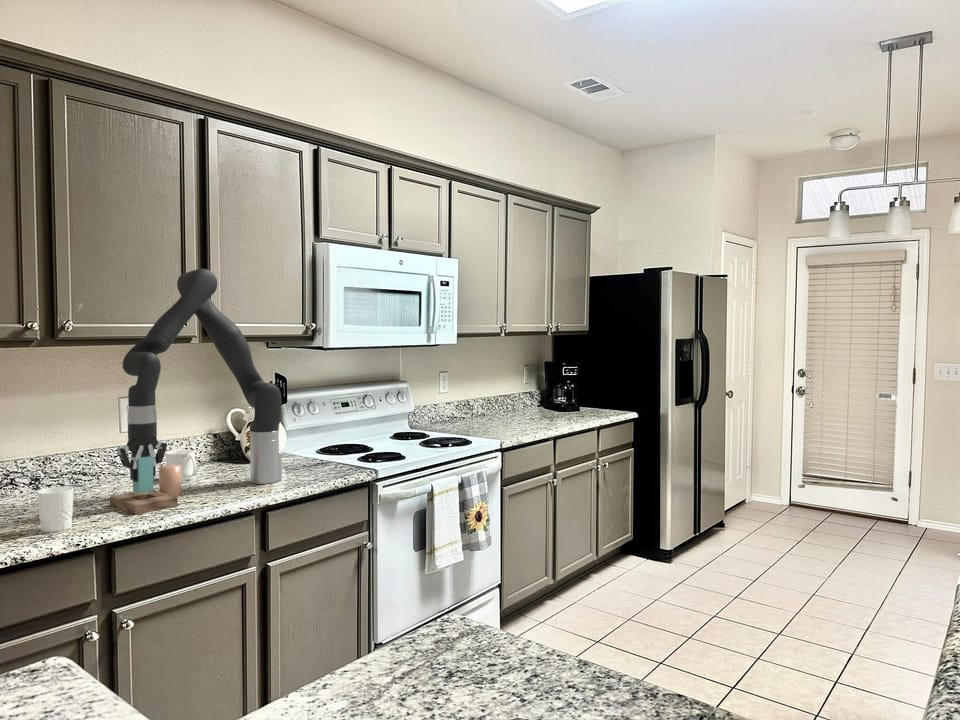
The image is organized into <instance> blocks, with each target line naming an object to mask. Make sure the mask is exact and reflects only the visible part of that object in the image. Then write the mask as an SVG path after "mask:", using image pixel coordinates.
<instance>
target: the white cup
mask: <svg viewBox="0 0 960 720" xmlns="http://www.w3.org/2000/svg"><path fill="white" fill-rule="evenodd" d="M36 493H37V506H38V516H39V521H40V531H41V532H43V533H55V532H62V531H66V530H70V529H71V528H72V526H73V512H74V487H72V486H55V487H54V486H53V487H47V488H42V489H39V490H37V492H36Z"/></svg>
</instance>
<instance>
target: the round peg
mask: <svg viewBox="0 0 960 720" xmlns="http://www.w3.org/2000/svg"><path fill="white" fill-rule="evenodd" d="M158 481H159V482H158V483H159V484H158V485H159V487H158V488H159V491H158V492H161V493H165V494H168V495H171V496H174V497H180V496H182V494H183V493H182V481H181V465H166V464H165V465H161V466H159V467H158Z"/></svg>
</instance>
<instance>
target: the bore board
mask: <svg viewBox="0 0 960 720" xmlns="http://www.w3.org/2000/svg"><path fill="white" fill-rule="evenodd" d="M153 490H154V489H153ZM178 497H179V496H178ZM178 497H174V496H171V495H168V494H165V493H161V492H159V491H157V490H154V491H150V492H144V493H137V492H134V491H133V492H129V493H123V494H116V495H112V496H109V505H110V506H111V507H114V508H117V509H119V510H122V511H124V510H125V511H124V512H128V513H130V514H133V515H136V516H137V515H140V514H146V513H151V512H155V511H160V510H164V509H166V510H167V509H169V508H176V507H178V506H179V505H178V503H179V502H178V501H179V499H178Z"/></svg>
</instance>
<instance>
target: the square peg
mask: <svg viewBox="0 0 960 720" xmlns="http://www.w3.org/2000/svg"><path fill="white" fill-rule="evenodd" d="M137 469H138V482H133V481H132V491H133V492H137V493H144V492H150V491H154V479H153V456H152V457H150V456H142V457H140V458H139V460H138V466H137Z"/></svg>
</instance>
